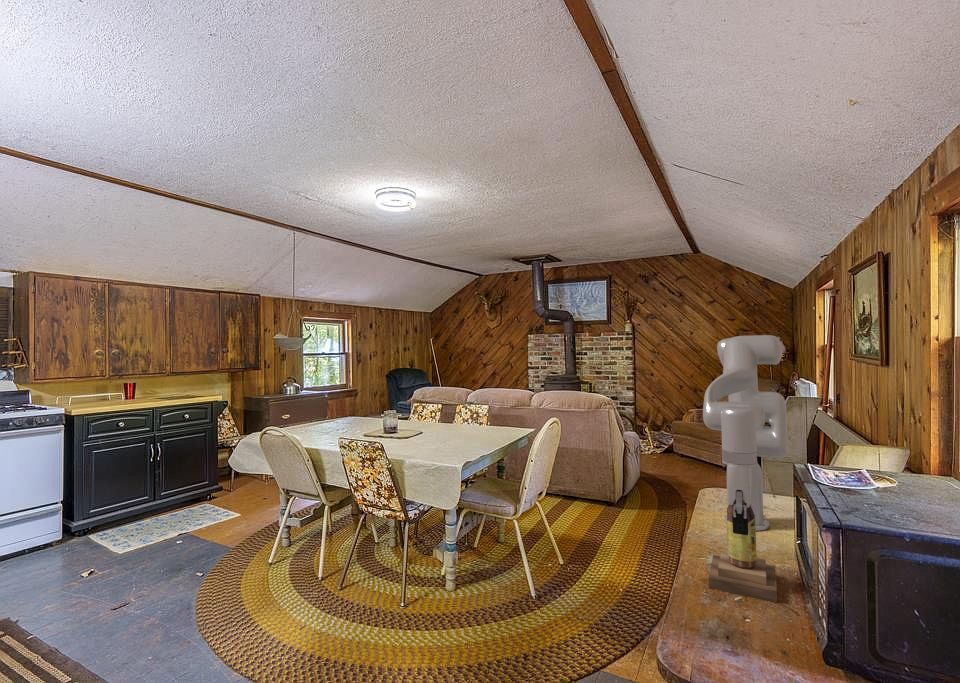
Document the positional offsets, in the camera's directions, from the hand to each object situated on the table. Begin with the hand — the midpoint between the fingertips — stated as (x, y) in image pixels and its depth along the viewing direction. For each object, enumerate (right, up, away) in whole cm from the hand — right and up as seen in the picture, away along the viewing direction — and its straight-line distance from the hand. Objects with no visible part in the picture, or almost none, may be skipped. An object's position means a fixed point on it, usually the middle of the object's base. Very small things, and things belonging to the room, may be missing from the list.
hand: (741, 526), depth 119 cm
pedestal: (0, -14, 0) cm, 14 cm away
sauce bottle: (0, -9, 0) cm, 9 cm away
